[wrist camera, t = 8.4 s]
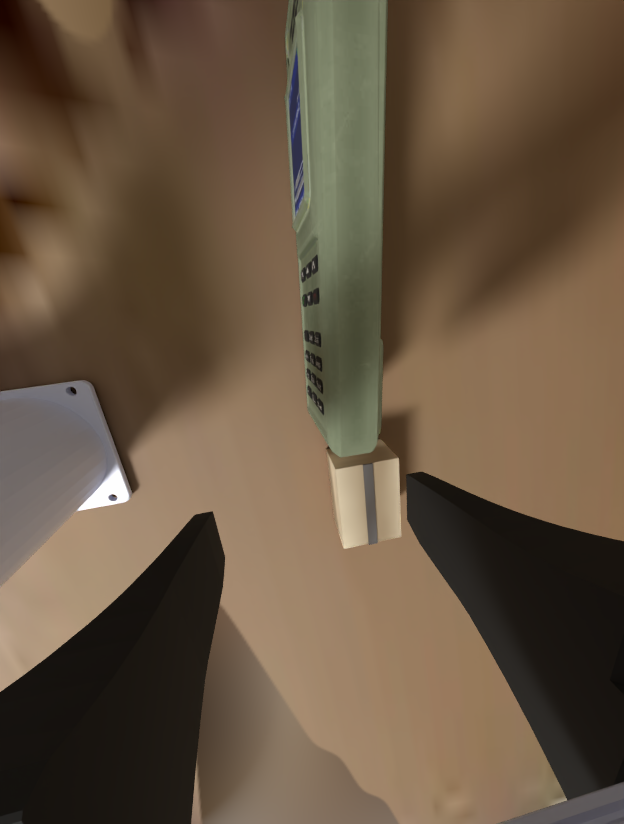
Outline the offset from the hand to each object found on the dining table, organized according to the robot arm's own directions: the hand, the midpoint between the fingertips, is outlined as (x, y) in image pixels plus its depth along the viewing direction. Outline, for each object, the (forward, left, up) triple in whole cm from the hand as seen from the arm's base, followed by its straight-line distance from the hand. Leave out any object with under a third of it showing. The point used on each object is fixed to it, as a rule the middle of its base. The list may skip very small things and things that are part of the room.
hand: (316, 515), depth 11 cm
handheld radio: (+3, +13, -10) cm, 17 cm away
